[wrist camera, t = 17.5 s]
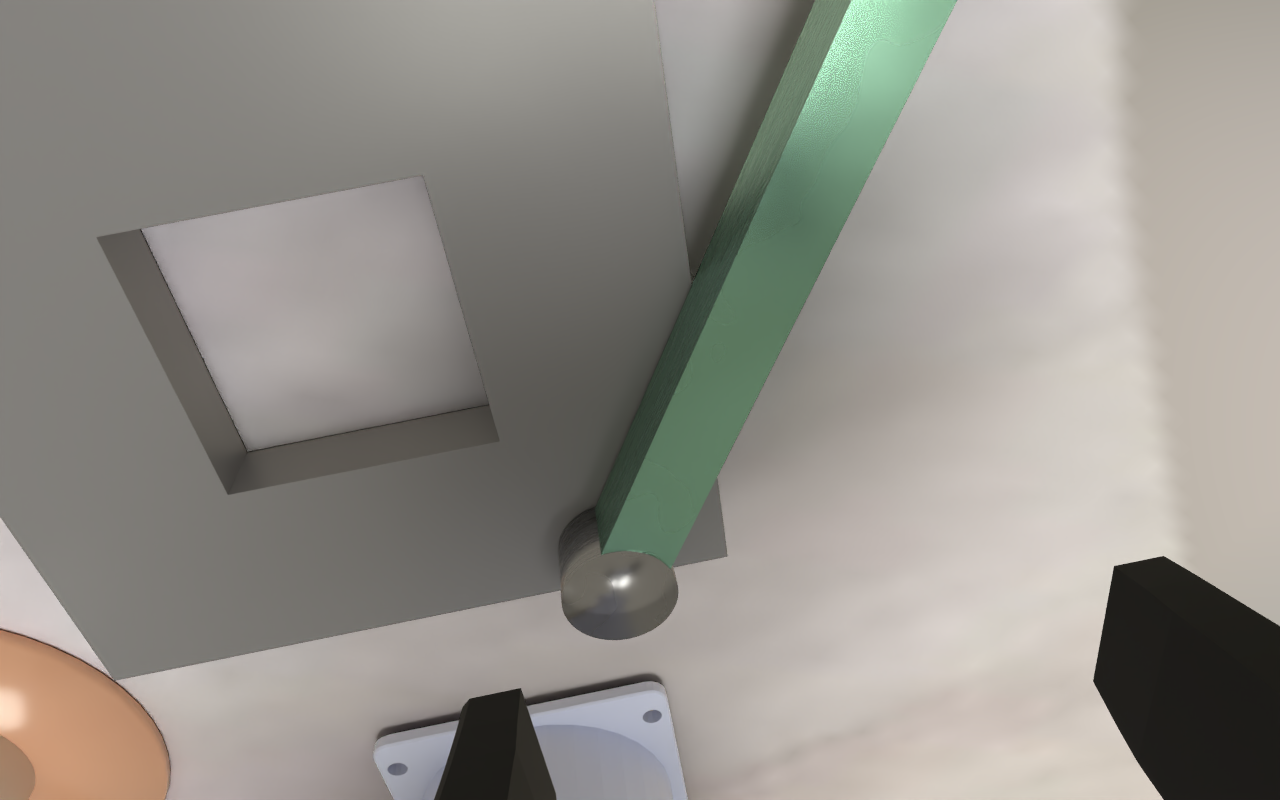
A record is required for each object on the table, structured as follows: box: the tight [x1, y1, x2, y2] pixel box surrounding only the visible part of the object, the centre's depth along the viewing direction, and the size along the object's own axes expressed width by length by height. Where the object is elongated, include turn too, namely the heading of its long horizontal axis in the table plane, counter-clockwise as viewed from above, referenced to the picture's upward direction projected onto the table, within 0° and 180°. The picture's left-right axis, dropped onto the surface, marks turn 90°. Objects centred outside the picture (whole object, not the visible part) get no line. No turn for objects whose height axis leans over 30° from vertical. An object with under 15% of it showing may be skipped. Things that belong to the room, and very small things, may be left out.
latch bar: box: [558, 0, 957, 640], centre depth 15 cm, size 18×2×2 cm, turn 159°
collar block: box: [0, 0, 727, 681], centre depth 17 cm, size 14×14×2 cm
